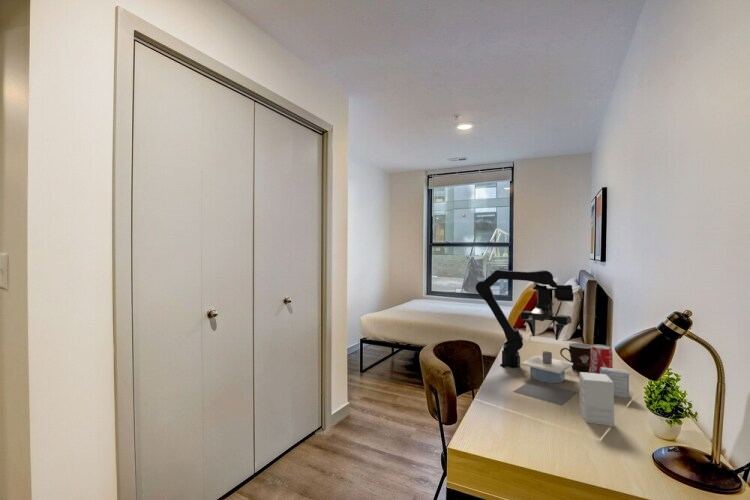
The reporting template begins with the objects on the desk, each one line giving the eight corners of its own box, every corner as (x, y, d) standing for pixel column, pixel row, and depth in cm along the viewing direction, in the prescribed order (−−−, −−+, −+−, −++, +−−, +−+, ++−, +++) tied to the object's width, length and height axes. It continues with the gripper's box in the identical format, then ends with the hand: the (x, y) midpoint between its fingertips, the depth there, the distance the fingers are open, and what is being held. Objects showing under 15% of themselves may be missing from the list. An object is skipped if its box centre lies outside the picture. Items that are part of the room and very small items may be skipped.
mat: (512, 393, 126) (512, 391, 126) (531, 381, 137) (531, 380, 137) (561, 407, 114) (561, 405, 114) (578, 393, 125) (578, 391, 125)
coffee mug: (593, 368, 152) (593, 344, 152) (592, 374, 144) (592, 349, 144) (562, 364, 158) (561, 341, 158) (559, 369, 151) (559, 345, 151)
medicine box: (626, 394, 124) (626, 369, 124) (629, 399, 120) (629, 373, 120) (599, 391, 127) (599, 366, 127) (601, 395, 123) (601, 370, 123)
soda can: (606, 377, 141) (606, 344, 141) (616, 384, 134) (616, 349, 134) (586, 377, 142) (586, 343, 142) (596, 383, 134) (596, 348, 135)
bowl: (526, 379, 139) (526, 364, 140) (538, 372, 147) (538, 358, 147) (557, 386, 132) (557, 371, 132) (567, 379, 139) (567, 365, 139)
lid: (521, 364, 140) (521, 352, 140) (536, 357, 149) (536, 345, 149) (559, 373, 130) (559, 360, 130) (573, 365, 139) (573, 352, 139)
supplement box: (607, 416, 108) (607, 373, 108) (614, 427, 101) (614, 382, 101) (579, 412, 110) (579, 371, 110) (584, 423, 103) (584, 379, 103)
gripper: (514, 300, 152) (514, 337, 152) (561, 304, 138) (561, 345, 138) (525, 297, 160) (525, 333, 159) (571, 302, 146) (571, 340, 146)
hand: (544, 338), depth 151 cm, fingers open, 9 cm apart
